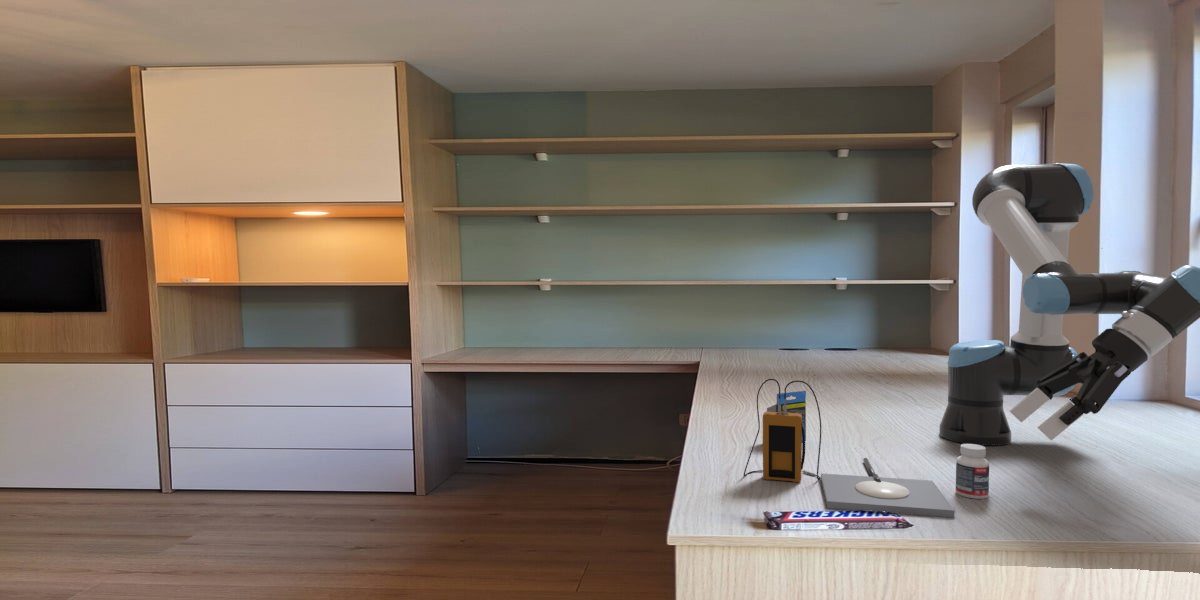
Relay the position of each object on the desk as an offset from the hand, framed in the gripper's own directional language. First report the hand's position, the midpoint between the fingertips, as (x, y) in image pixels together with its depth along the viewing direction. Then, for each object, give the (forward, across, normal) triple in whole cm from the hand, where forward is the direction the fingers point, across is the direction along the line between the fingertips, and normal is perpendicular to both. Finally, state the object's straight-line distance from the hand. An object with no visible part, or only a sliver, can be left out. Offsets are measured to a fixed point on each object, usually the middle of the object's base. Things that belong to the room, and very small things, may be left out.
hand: (1028, 425), depth 119 cm
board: (+27, -2, -8) cm, 28 cm away
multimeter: (+39, -6, -20) cm, 44 cm away
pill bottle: (+16, 0, +3) cm, 16 cm away
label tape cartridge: (+38, -32, -19) cm, 53 cm away
